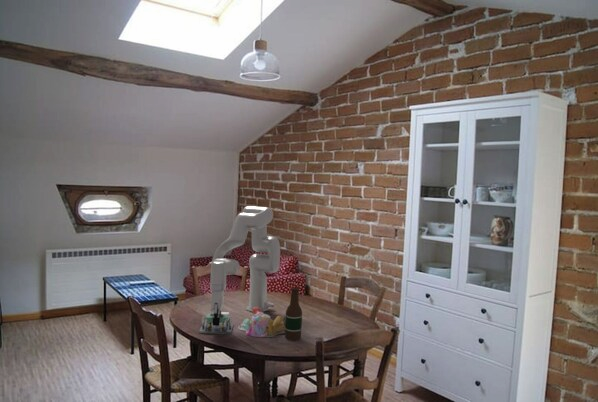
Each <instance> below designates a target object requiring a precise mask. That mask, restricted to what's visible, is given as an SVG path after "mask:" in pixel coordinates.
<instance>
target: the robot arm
mask: <svg viewBox="0 0 598 402" xmlns="http://www.w3.org/2000/svg"><path fill="white" fill-rule="evenodd" d="M273 218H274V211H273V209H272V208H270V207H267V206H258V205H257V206H255V205H250V206H249V205H247V206H245V207H244V208H243V209H242V212H240V213H238V214H237V215H236V217H235V220H234V222H233V225H232V227H231V230H230V234H229V237H228V238H227V239H225V240H224V241H223V242H221V244H220V245H219V246H218V247H217V248H216V250H215V251H214V254H213V256H212V260H211V264H210V284H209V285H210V286H209V288H210V289H209V290H210V291H211V295H210V296H211V297H210V312H213V313H212V314H213V326H219V322H220V317H219V314H221V312H222V309H223V305H224V292H225V291H226V290H227V276H230V275H235V274H237V273H238V272H239V270H240V268H241V266H240V263H239V261H238V260H237V259H233V258H227V257H224V256H225V255H226V253H228V252H229V251H230V250H233V249H236V248H238V247H241V246H243V245H244V244H245V243H246V240H247V236H248V233H249V231H250V230H251V248H252V250H253V251H254V252H258V253H253V254H252V255H251V256H250V257H249V261H248V266H249V270H250V271H249V272H250V273H249V274H250V277H249V278H250V279H249V299H248V302H249V303H248V304H247V306H246V310H247V311H248V312H252V310H253V308H254V307H258V308H259V309H260V312H261V313H262V312H263V313H265V312H267V311H269V309H270V308H274V306H275V303H272V302H268V300H267V292H268V290H267V289H268V277H267V274H266V273H270V274H271V273H277V272H279V269H280V263H281V262H280V259H281V255H280V254H281V246H280V241H279V239H278V238H277V237H276V236H271V235H268V230H267V229H268V228H267V225H268V224H270V223H271V222H272V220H273Z"/></svg>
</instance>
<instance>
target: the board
mask: <svg viewBox="0 0 598 402" xmlns="http://www.w3.org/2000/svg"><path fill="white" fill-rule="evenodd" d="M219 317H220V322H219V323H220V324H222V323H224V320H226V323H227V320H228V314H219ZM205 320H207V323H208V322H211V323H213V313H207V314H206V316H205ZM228 321H229V320H228Z"/></svg>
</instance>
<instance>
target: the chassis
mask: <svg viewBox="0 0 598 402" xmlns="http://www.w3.org/2000/svg"><path fill="white" fill-rule="evenodd" d="M201 319H202V320H201V321H202V323H201V327H200V328H199V330H198V334H215V335H216V334H219V335H231V334H232V331H233V328H234V323H232V317H230V316H229V320H227V323H226V320H224V323H219V326H213V323H211V322H207V320H206V316H202V318H201Z"/></svg>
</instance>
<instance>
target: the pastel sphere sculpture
mask: <svg viewBox="0 0 598 402" xmlns="http://www.w3.org/2000/svg"><path fill="white" fill-rule="evenodd" d="M251 312H252V314H253V315H252V316H251V318H245V319H243V321H242V323H241V322H239V324H238V328H237V329H238V330H239V331H241V332H245V334H246V336H249V337H252V338H254V337H255V338H273V337H276V336H277V335H280V334H281V335H282V334H285V321H283V320H284V317H283V316H281V315H277V316H276V317H275V318H274V319H273V318H271V316H270V315H269V314H266V313H265V312H260V309H259V308H258V307H254V308H253V310H252V311H251Z"/></svg>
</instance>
